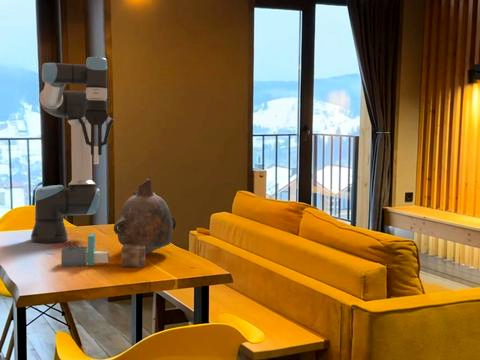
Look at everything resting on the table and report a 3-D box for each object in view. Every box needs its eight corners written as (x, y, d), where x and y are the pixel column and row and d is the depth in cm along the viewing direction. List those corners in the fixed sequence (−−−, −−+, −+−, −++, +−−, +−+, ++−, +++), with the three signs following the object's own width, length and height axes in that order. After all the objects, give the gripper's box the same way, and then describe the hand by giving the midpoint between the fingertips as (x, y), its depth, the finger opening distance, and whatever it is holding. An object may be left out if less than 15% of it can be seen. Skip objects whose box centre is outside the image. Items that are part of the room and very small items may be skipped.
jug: (140, 246, 266) (141, 174, 263) (184, 252, 257) (185, 177, 254) (103, 256, 244) (103, 178, 241) (149, 263, 235) (151, 182, 232)
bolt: (61, 265, 226) (61, 236, 225) (64, 261, 231) (64, 233, 230) (107, 265, 228) (107, 236, 227) (109, 262, 233) (109, 233, 232)
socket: (121, 267, 227) (121, 248, 226) (123, 262, 235) (123, 244, 234) (144, 267, 228) (144, 248, 227) (145, 262, 236) (145, 244, 235)
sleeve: (61, 267, 225) (61, 250, 225) (64, 262, 232) (64, 246, 232) (84, 267, 226) (84, 250, 226) (87, 262, 233) (87, 246, 233)
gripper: (77, 99, 230) (77, 164, 232) (113, 100, 231) (113, 164, 233) (79, 99, 237) (79, 163, 239) (115, 100, 239) (114, 163, 241)
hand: (96, 163), depth 236 cm, fingers closed
